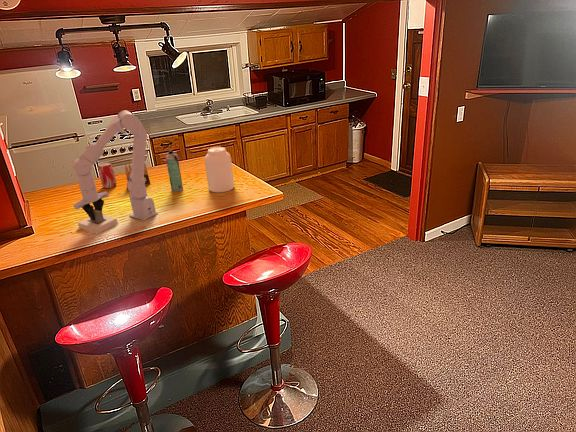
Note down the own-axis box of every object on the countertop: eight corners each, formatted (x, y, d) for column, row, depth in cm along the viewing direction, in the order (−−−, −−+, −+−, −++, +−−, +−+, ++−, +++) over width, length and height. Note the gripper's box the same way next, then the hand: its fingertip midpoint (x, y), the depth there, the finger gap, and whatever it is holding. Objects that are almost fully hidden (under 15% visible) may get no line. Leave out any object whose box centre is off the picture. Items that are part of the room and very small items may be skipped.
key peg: (97, 223, 179) (93, 208, 176) (105, 226, 176) (101, 210, 173) (92, 226, 177) (88, 210, 174) (100, 228, 174) (96, 212, 171)
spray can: (184, 187, 211) (177, 148, 203) (180, 191, 207) (174, 152, 198) (173, 187, 212) (166, 148, 203) (170, 191, 207) (162, 152, 198)
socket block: (117, 223, 178) (116, 218, 177) (97, 234, 170) (95, 228, 169) (99, 218, 184) (98, 213, 183) (79, 227, 176) (77, 222, 175)
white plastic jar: (237, 190, 205) (232, 150, 196) (211, 195, 201) (206, 154, 192) (230, 181, 215) (226, 143, 207) (206, 186, 212) (200, 147, 203)
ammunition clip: (128, 187, 215) (123, 165, 210) (128, 186, 216) (123, 164, 211) (150, 183, 219) (145, 161, 214) (149, 182, 220) (145, 160, 215)
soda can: (114, 188, 215) (108, 166, 209) (100, 189, 215) (94, 166, 210) (119, 183, 221) (114, 161, 216) (106, 184, 221) (100, 162, 216)
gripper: (97, 180, 177) (105, 209, 183) (65, 192, 166) (74, 223, 172) (108, 183, 173) (115, 213, 179) (76, 195, 162) (85, 227, 168)
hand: (96, 218), depth 175 cm, fingers closed on key peg, 3 cm apart
